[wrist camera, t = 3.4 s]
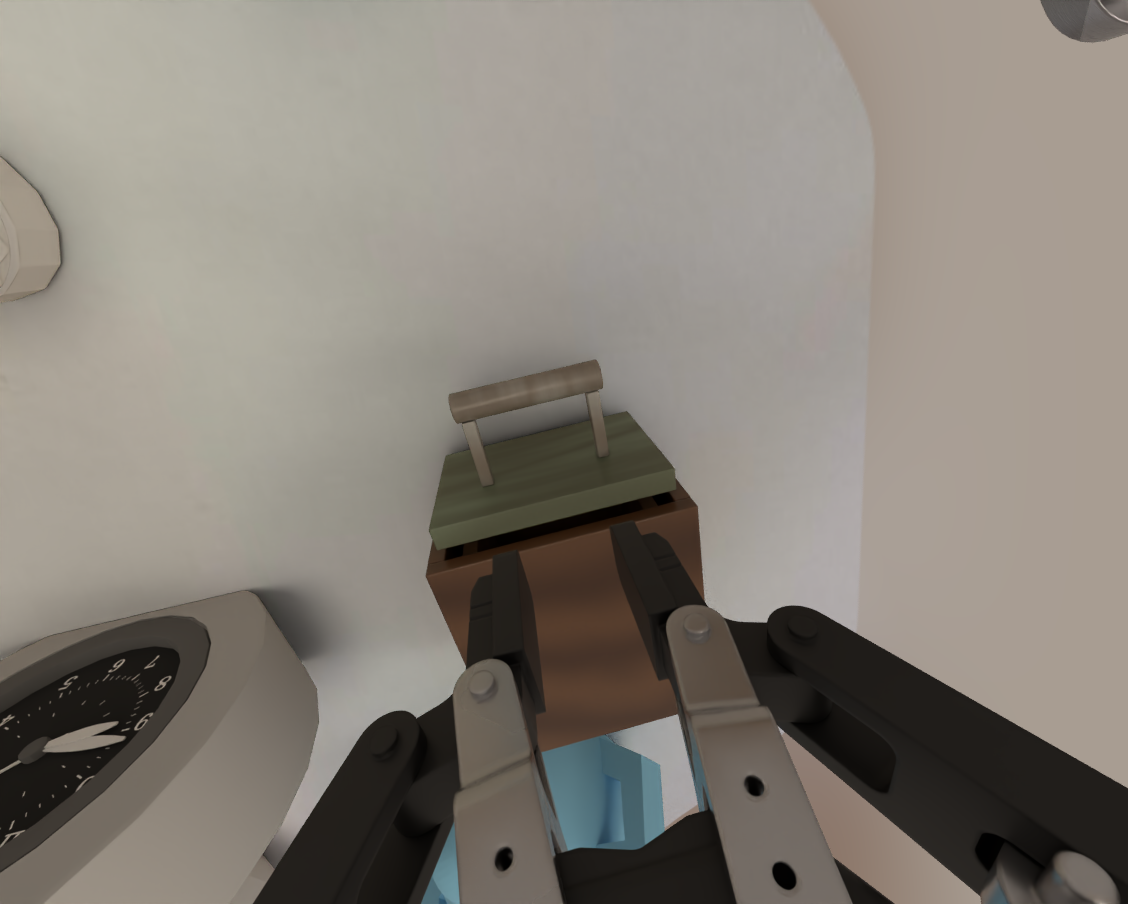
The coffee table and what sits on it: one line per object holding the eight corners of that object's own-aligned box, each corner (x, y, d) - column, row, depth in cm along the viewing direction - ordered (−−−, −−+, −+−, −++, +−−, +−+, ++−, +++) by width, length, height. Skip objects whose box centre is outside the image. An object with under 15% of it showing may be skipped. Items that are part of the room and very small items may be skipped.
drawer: (417, 377, 24) (386, 430, 17) (615, 331, 25) (665, 363, 18) (503, 614, 32) (505, 716, 25) (650, 575, 33) (693, 664, 26)
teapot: (428, 826, 43) (403, 1056, 31) (427, 695, 36) (394, 931, 23) (611, 806, 47) (655, 1004, 35) (647, 683, 39) (719, 881, 27)
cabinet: (446, 474, 28) (424, 576, 19) (635, 427, 28) (698, 505, 20) (504, 633, 34) (508, 762, 26) (658, 592, 35) (712, 705, 26)
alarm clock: (308, 575, 29) (24, 1075, 12) (351, 650, 33) (181, 1131, 15) (-23, 653, 28) (-913, 1348, 10) (56, 723, 31) (-515, 1341, 14)
